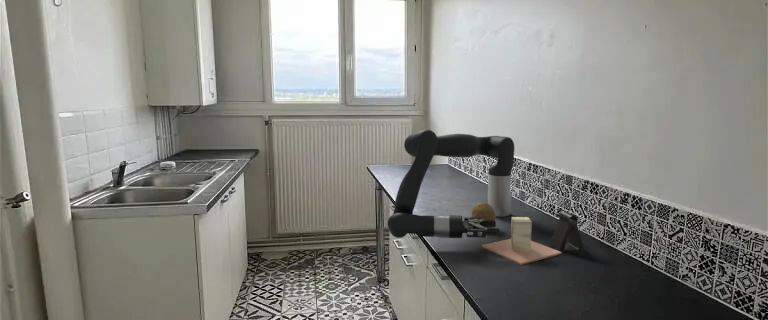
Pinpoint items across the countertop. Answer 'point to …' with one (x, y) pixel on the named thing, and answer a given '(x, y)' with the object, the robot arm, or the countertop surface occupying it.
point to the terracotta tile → (519, 257)
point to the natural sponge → (483, 211)
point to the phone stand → (566, 234)
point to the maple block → (521, 234)
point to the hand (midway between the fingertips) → (497, 227)
